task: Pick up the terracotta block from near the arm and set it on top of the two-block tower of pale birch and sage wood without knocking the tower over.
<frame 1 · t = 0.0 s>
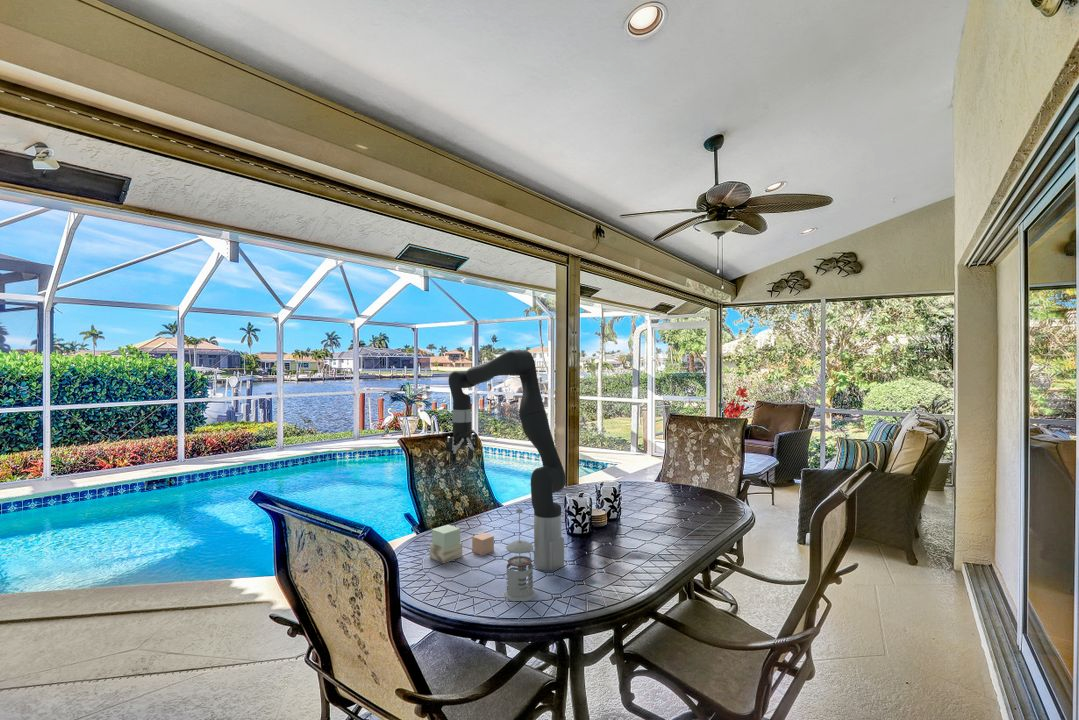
hand: (462, 461, 195), 29 cm above the table, tool pointing down, fingers open, 8 cm apart
french press: (521, 593, 145), on the table
terracotta block: (483, 551, 177), on the table
sage top block: (446, 543, 172), point 5 cm above the table, touching birch base block
birch base block: (446, 557, 172), on the table, touching sage top block
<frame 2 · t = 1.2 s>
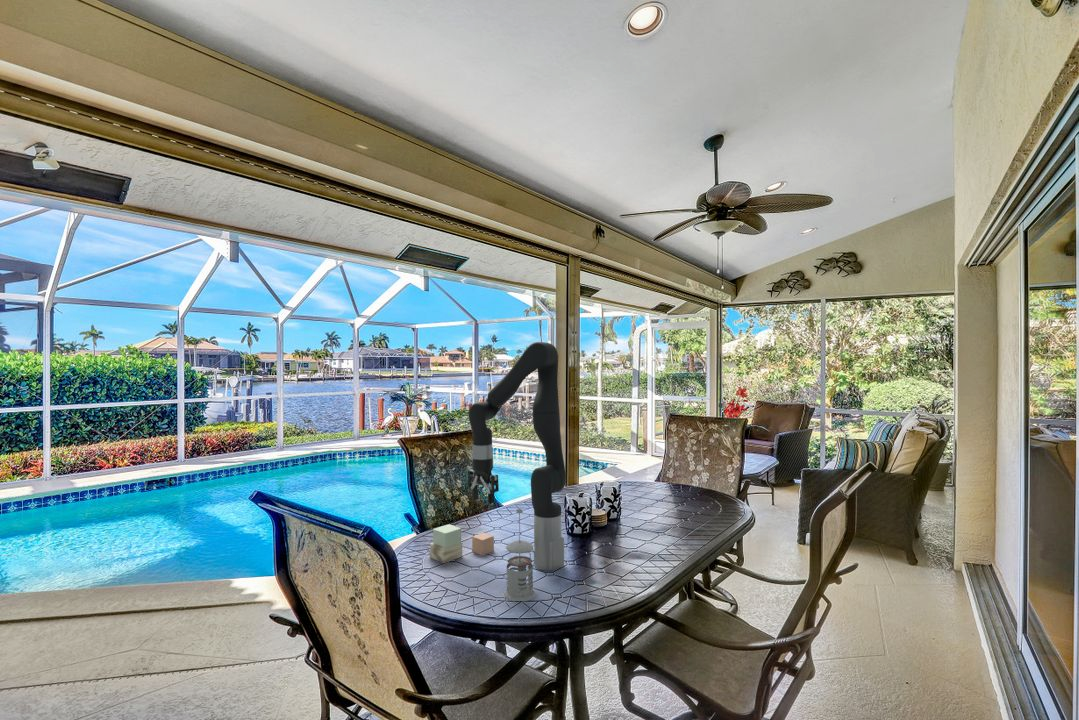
hand: (483, 501, 177), 18 cm above the table, tool pointing down, fingers open, 8 cm apart
sage top block: (447, 542, 172), point 5 cm above the table
birch base block: (446, 557, 172), on the table
everything else where it was.
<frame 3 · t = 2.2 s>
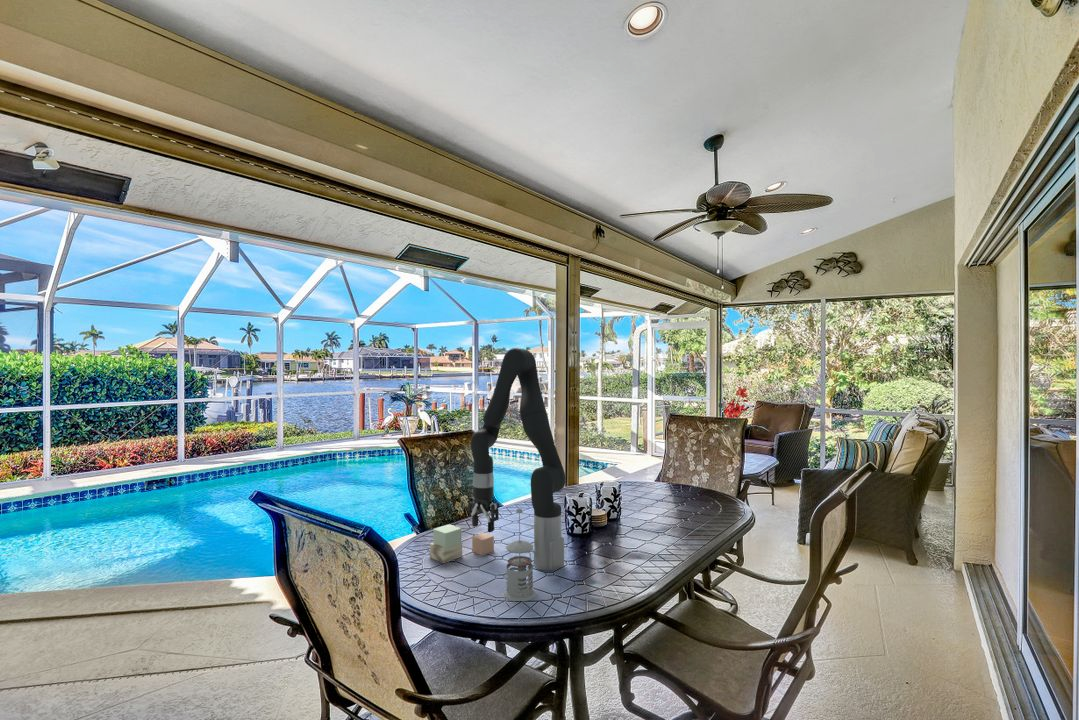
hand: (482, 528, 178), 8 cm above the table, tool pointing down, fingers open, 8 cm apart
nothing on the table moved.
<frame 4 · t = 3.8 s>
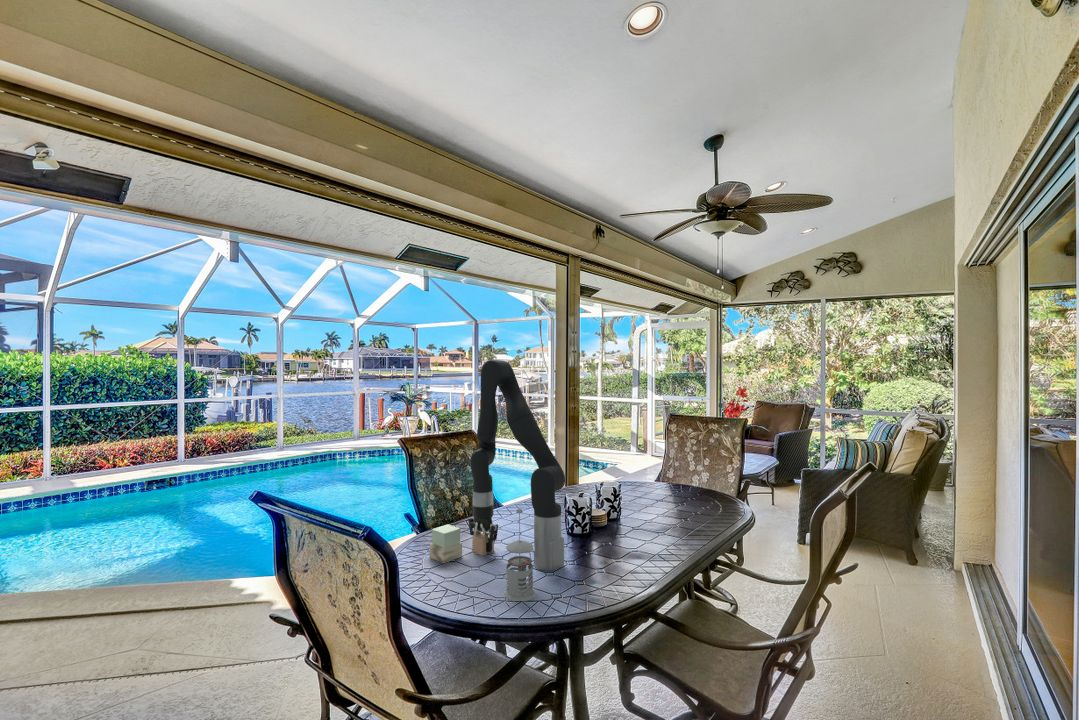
hand: (483, 549, 177), 1 cm above the table, tool pointing down, fingers closed on terracotta block, 5 cm apart
terracotta block: (483, 551, 177), on the table, touching gripper
everything else where it was.
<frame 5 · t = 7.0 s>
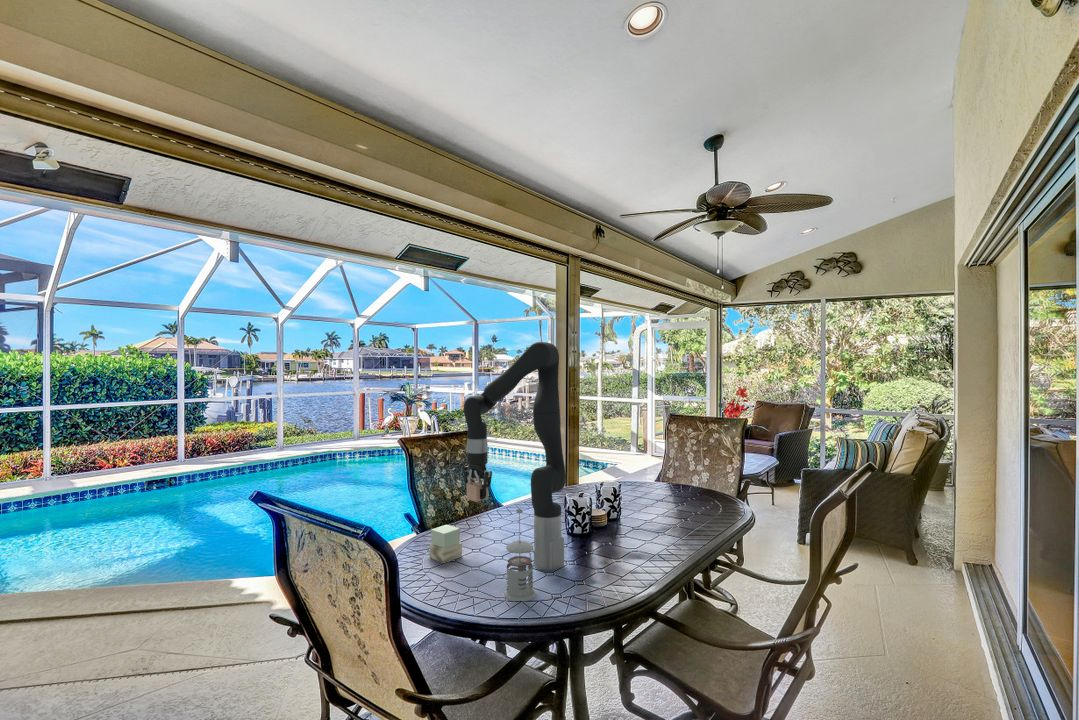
hand: (477, 497, 177), 20 cm above the table, tool pointing down, fingers closed on terracotta block, 5 cm apart
terracotta block: (477, 498, 177), point 19 cm above the table, touching gripper
everything else where it was.
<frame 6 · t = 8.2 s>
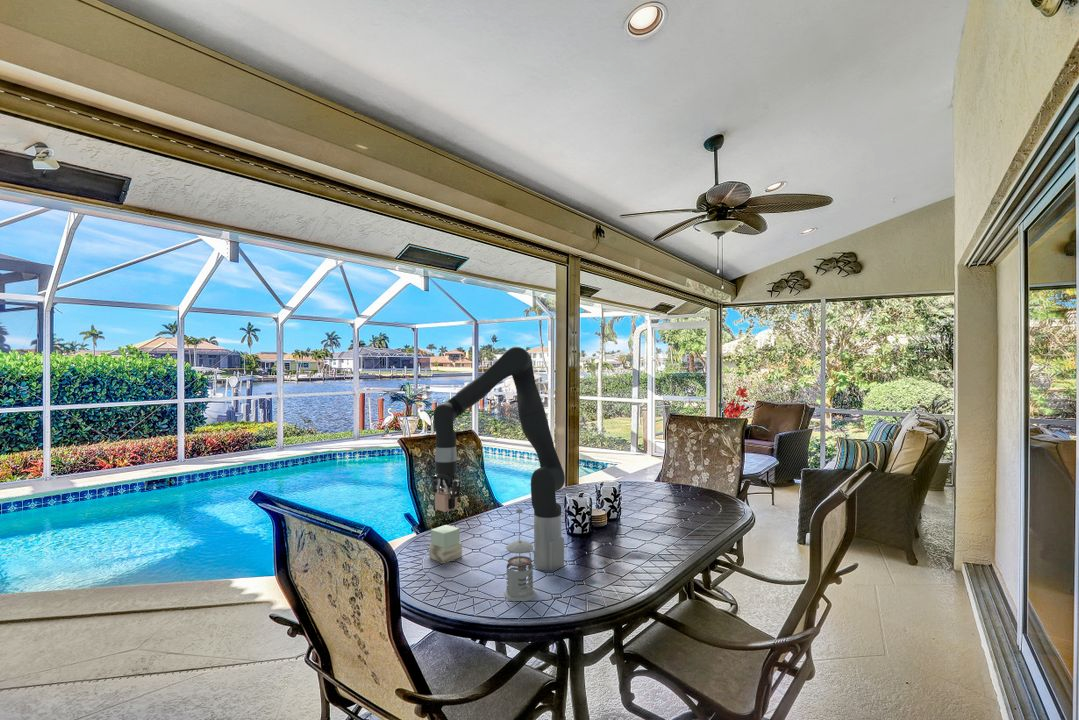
hand: (446, 507, 172), 17 cm above the table, tool pointing down, fingers closed on terracotta block, 5 cm apart
terracotta block: (446, 508, 172), point 17 cm above the table, touching gripper
sage top block: (445, 543, 172), point 5 cm above the table, touching birch base block
birch base block: (445, 557, 172), on the table, touching sage top block
everything else where it was.
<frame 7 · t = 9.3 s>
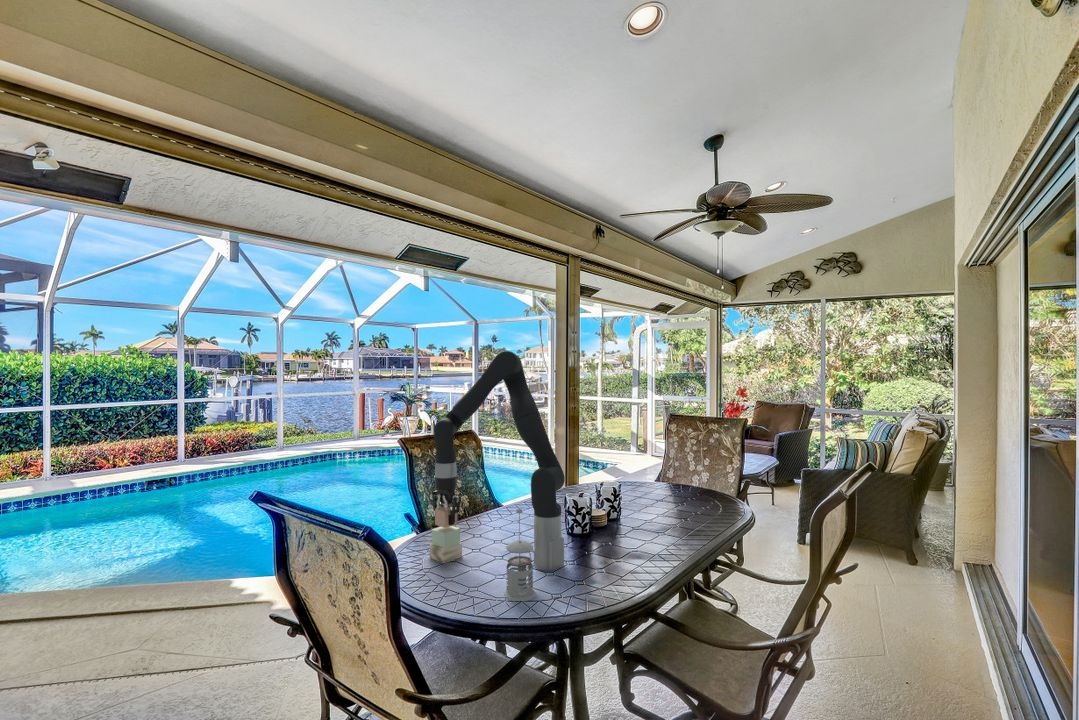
hand: (446, 522, 172), 12 cm above the table, tool pointing down, fingers closed on terracotta block, 5 cm apart
terracotta block: (446, 524, 172), point 11 cm above the table, touching gripper
everything else where it was.
when the fingers open (12 cm above the table, at t = 10.3 s): terracotta block drops 2 cm, resting on sage top block.
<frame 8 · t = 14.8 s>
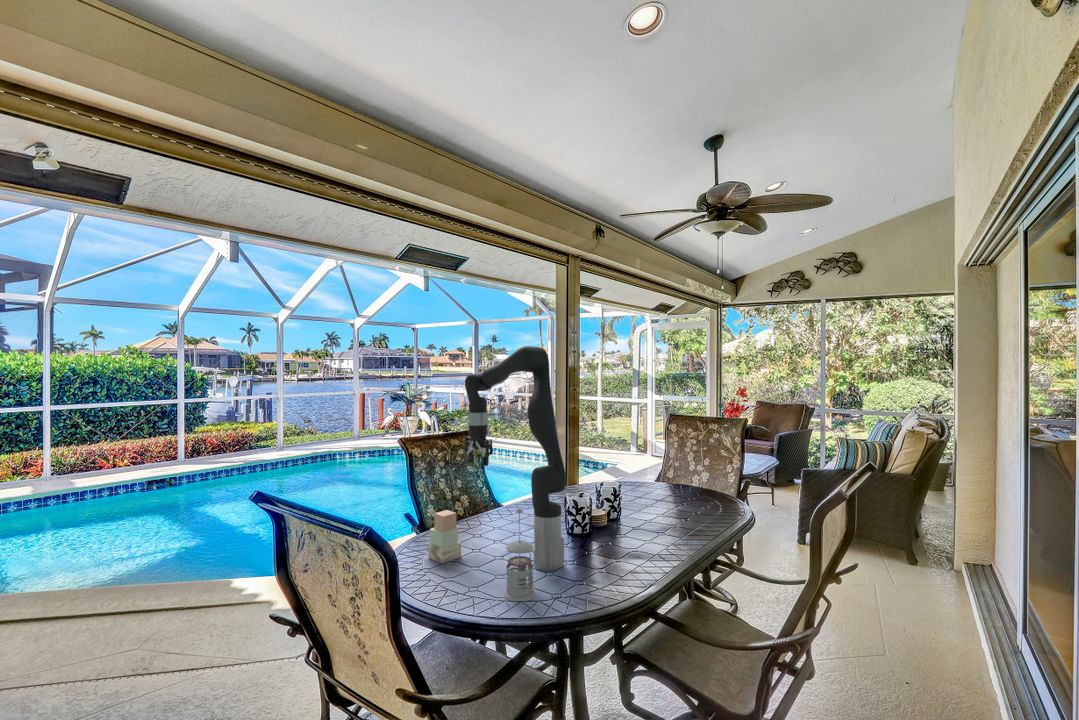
hand: (478, 464, 194), 28 cm above the table, tool pointing down, fingers open, 8 cm apart
terracotta block: (445, 528, 172), point 10 cm above the table, touching sage top block
sage top block: (443, 542, 172), point 5 cm above the table, touching birch base block, terracotta block
everything else where it was.
at the end: terracotta block 0.6 cm off-centre on the sage top block, point 5.0 cm above the sage top block's base; terracotta block tilted 0°; sage top block moved 0.9 cm from its start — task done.
